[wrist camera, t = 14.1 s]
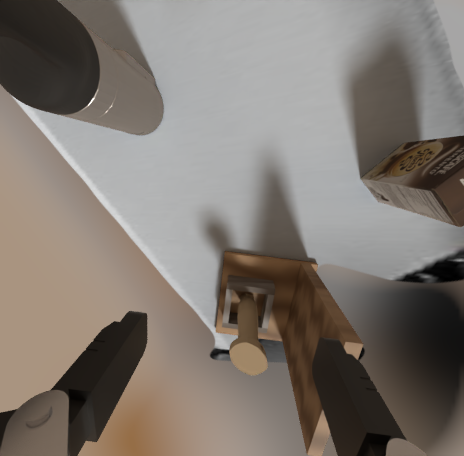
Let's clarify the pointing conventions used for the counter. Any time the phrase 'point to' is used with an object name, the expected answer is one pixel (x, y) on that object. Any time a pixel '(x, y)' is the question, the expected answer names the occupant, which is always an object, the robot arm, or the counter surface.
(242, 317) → the handle
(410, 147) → the coffee box
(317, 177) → the counter surface
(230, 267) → the board
